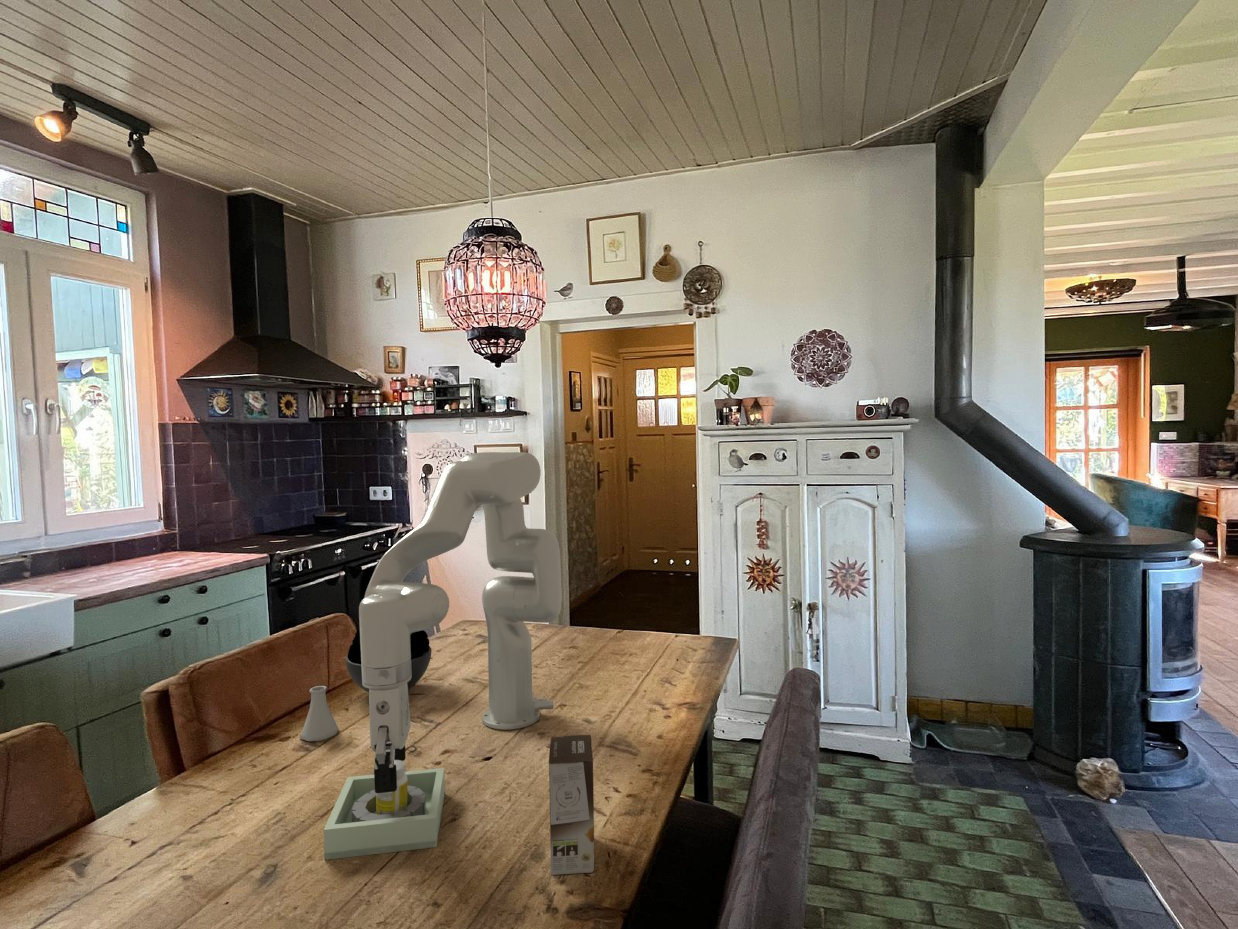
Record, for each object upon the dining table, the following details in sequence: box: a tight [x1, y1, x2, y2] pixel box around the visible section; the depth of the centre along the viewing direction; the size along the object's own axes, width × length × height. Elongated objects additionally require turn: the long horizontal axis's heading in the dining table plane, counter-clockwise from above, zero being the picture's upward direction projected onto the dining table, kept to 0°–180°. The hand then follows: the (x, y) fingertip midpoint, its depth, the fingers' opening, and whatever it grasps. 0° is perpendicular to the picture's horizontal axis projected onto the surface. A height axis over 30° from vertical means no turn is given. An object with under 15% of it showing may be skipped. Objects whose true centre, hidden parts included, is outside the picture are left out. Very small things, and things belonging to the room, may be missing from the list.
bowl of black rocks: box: [345, 627, 432, 693], centre depth 166 cm, size 20×20×19 cm
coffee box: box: [548, 734, 595, 876], centre depth 99 cm, size 9×6×16 cm
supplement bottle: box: [376, 760, 408, 815], centre depth 108 cm, size 5×5×8 cm
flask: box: [299, 685, 339, 742], centre depth 142 cm, size 7×7×10 cm
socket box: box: [323, 767, 446, 861], centre depth 108 cm, size 16×16×4 cm
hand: (391, 775), depth 109 cm, fingers open, 9 cm apart
